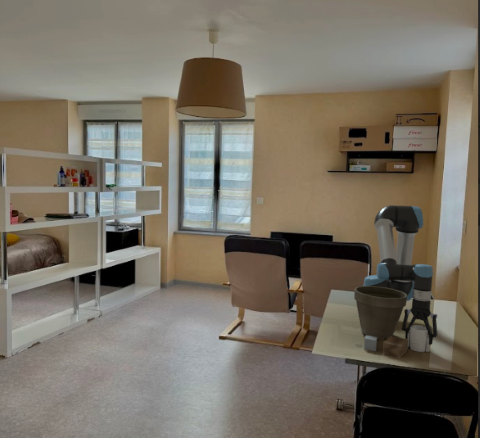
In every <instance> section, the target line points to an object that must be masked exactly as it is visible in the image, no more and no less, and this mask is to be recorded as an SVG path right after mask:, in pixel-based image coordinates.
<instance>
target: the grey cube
mask: <svg viewBox="0 0 480 438" xmlns="http://www.w3.org/2000/svg"><path fill="white" fill-rule="evenodd" d="M377 343H378V339H377V337H374V336H367V335H365V336H364V343H363V350H365V351H370V352H371V351H372V352H376V351H377V348H378V347H377V345H378V344H377Z"/></svg>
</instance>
